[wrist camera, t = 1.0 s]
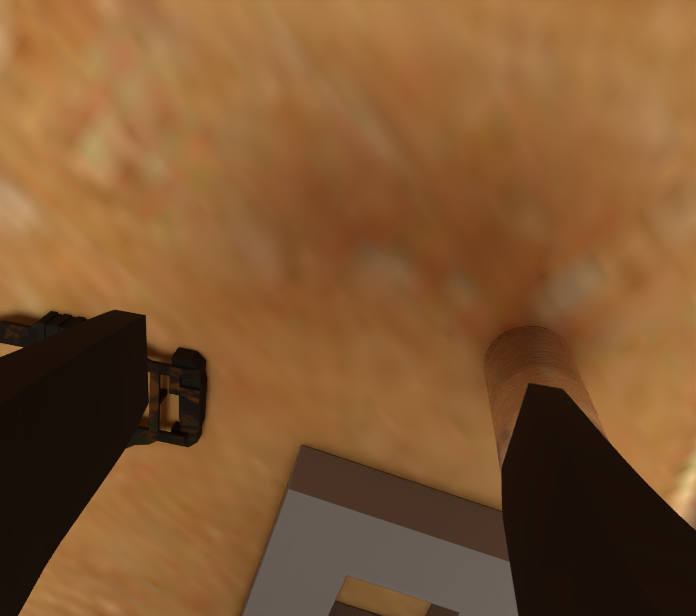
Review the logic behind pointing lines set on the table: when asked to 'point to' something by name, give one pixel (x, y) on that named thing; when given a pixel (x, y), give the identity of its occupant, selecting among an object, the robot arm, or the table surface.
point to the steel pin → (530, 377)
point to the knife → (183, 375)
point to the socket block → (378, 545)
